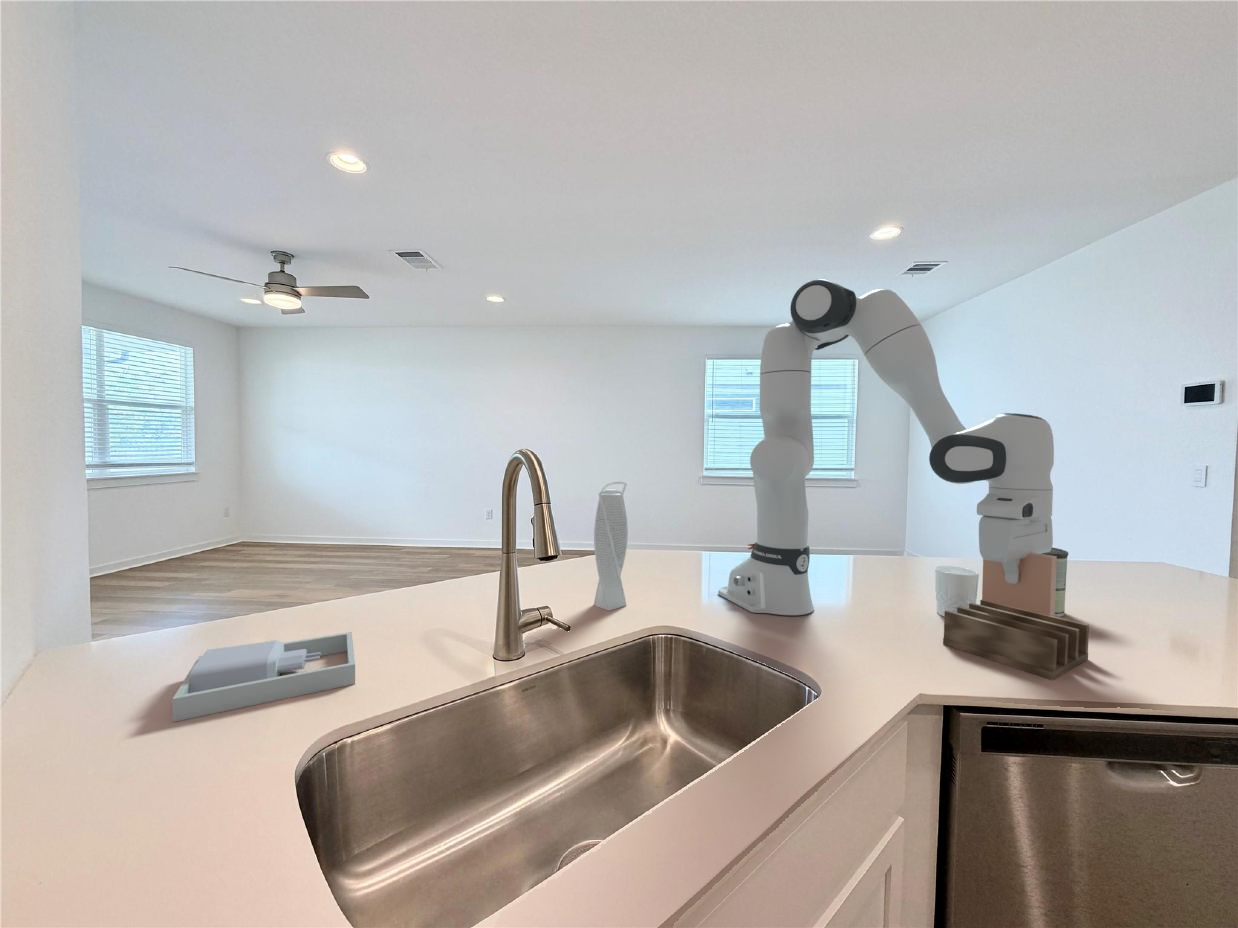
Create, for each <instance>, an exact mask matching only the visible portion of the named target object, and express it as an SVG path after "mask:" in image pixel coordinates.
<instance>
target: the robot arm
mask: <svg viewBox="0 0 1238 928" xmlns="http://www.w3.org/2000/svg"><path fill="white" fill-rule="evenodd" d="M789 309H790V316H791V318H792V321H790V322H788V323H785V324H784V323H783V324H779V325H777V326H775V327H773V328H771V329H770V330H769V331H768V332H766V334H765V337H764V340H763V345H762V349H761V350H762V351H761V356H760V366H759V413H760V416H761V422H762V426H763V427H762V428H763V435H764V438H763V439H762V440H761V441H760V442H758V443H757V444H756V445H755V447H754V448H753V449H752V451H751V453H750V456H749V464H750V465H749V466H750V468H751V471H752V475H753V476H752V477H753V478H752V479H753V485H754V486H753V487H754V488H753V489H754V493H755V500H756V513H757V514H756V515H757V516H756V521H757V522H756V525H757V526H756V542H754V543H751V544H747V546H748V547H747V550H751V553H750V557H749V558H746V560H744V561H743V562H741V563H739V564H738V565H736V566H735V567H734V568H733V569H731V570H730V573H729V576H728V582H727V583H728V585H726V586H723V587H720V588H719V589H718V592H717V594H718V595H719V596H721V597H723V598H724V599H727V600H729V601H730V602H732V603H734V604H736V605H737V606H739V607H741V608H744V609H745V610H746V611H748V612H751V613H754V614H755V613H756V614H773V615H780V616H802V615H807V614H810V613H813V611H814V610H815V607H814V604H813V600H812V595H811V589H810V588H811V587H810V581H809V572H808V571H809V565H810V546H809V545H808V543H809V540H808V539H809V538H808V537H809V508H808V502H807V493H806V492H807V491H806V477H808V475H810V473H811V472H812V470H813V467H814V464H815V450H814V445H815V444H814V433H813V432H814V431H813V419H812V404H811V403H812V360H813V359H812V358H813V353H814V351H819V350H822V349H825V348H826V347H830V346H831V345H835V344H838V343H841V342H842V341H844V340H846V339H847V338H848V337H851V338H853V340H855V342H856V343H857V345H858V346H859V348H860V349H861V352H862V354H863V356H864V357H865V359H866V361H867V362H868V364H869V365H870V367H871V368H872V370H873V371H874V372H875V373H876V374H877V376H878V378H880V379H881V381H883V382H884V384H885V385H886V386H888V387H889V388H890V389H892V390H893V391H894V392H895V393H896V394H898V395H899V396H900V397H901V398H902V399H903V400H904V401H905V402H906V403H907V404H908V406H909V407H910V408H911V410H912V412H913V414H914V415H915V417H916V419H917V420H918V422H919V424H920V425H921V427H922V429H923V430H924V432H925V434H926V435H927V437H928V440H929V443H930V447H931V450H930V452H929V456H928V461H929V464H930V465H929V466H930V468H931V470H932V471H933V473H934V474H935V475H936V476H937V477H939V478H940V479H942V480H944V481H945V482H948V483H950V484H957V485H967V484H971V483H975V482H979V481H980V482H981V481H986V482H988V493H987V494H986V495H985V496H984V497H983V499H982V500H981V501H979V502H978V503H977V505H976V515H978V516H981V517H980V518H979V522H978V549H979V553H980V556H981V558H982V560H983V559H984V560H989V561H994V562H1001V563H1002V565H1003V568H1004V571H1005V581H1006V582H1008V583H1013V584H1016V583H1019V582H1020V581H1021V579H1020V578H1021V573H1019V570H1018V565H1019V562H1020V559H1022V558H1026V557H1027V556H1028V554H1030V553H1038V554H1042V553H1046V552H1050V551H1051V548H1053V543H1054V542H1053V541H1054V539H1053V537H1054V536H1053V535H1054V533H1053V520H1052V516H1053V501H1054V500H1053V499H1054V498H1053V493H1054V487H1053V483H1052V480H1051V473H1052V469H1053V466H1054V463H1055V462H1054V461H1055V460H1054V459H1055V447H1054V446H1055V444H1054V435H1053V429H1052V426H1051V425H1050V422H1048V421H1047V420H1045V419H1044V418H1043V417H1040V416H1036V415H1032V414H1025V413H1024V414H1023V413H1016V412H1015V413H1013V412H1012V413H1010V412H1004V413H998V414H996V415H995V416H994V417H992V418H990V419H988V420H987V421H983V422H982V423H980V424H978V425H975V426H972V427H969V428H968V429H967V428H966V427H965V426H964V424H962V422H961V420H960V419H959V418H958V417H959V416H957V414H956V412H955V410H954V409H953V407H952V405H951V403H950V402H949V400H948V398H947V396H946V395H945V393H944V391H943V388H942V386H941V383H940V378H939V374H938V373H939V372H938V366H937V360H936V355H935V353H934V349H933V347H932V346H933V345H932V344H931V341H930V339H929V336H928V335H927V333H926V330H925V329H924V327H923V325H922V324H921V323H920V321H919V319H918V318H917V316H916V315H915V314H914V312H913V311H912V310H911V308H910V307H909V306H908V305H907V303H906V302H905V301H904V300H903V299H902V297H900V296H899V295H898V293H896V292H895V291H893V290H891V289H888V288H887V289H886V288H879V289H875V290H872V291H869V292H867V293H865V294H863V295H862V296H859V297H857V295H856V293H855V291H854V290H851V289H849V288H847V287H844V286H843V285H840V284H838V283H836V282H834V281H830V280H826V279H814V280H810V281H808V282H806V283H804V284H802V285H801V286H800V287H799V288H798V289H797V290H796V292H795V293H794V294H793V297H792V299H791V303H790V308H789Z"/></svg>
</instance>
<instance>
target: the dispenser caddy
mask: <svg viewBox="0 0 1238 928" xmlns="http://www.w3.org/2000/svg"><path fill="white" fill-rule="evenodd" d="M352 632H353V631H350V632H349V631H347V632H343V633H336V634H330V635H324V636H317V637H310V638H305V639H298V640H297V639H296V640H293V641H286V642H283V643H284V652H288V651H294V650H301V649H306V650H307V654H311V653H318V652H321V655H316V656H310V657H306V658H311V657H317V656H320V657H321V656H328V655H334V654H338V653H345V652H346V659H347V663H343V664H338V665H334V666H333V665H331V666H328V667H322V668H318V669H313V670H311V669H310V670H307V671H305V670H304V671H302V672H301V671H300V672H295V673H289V674H284V675H280V676H279V677H274V678H268V679H263V680H258V681H252V682H247V683H242V684H237V685H231V686H226V687H221V688H215V689H210V690H205V691H200V692H194V693H190V679H189V678H190V673H191V670H192V668H193V667H194V666H195V664H196V663H197V662H198V661H199V659H200V658H201V657H202V656H203V655H199V656H198V658H197V659H196V660H195V662H194V663H193V665H192V667H191V669H190V670H189V672H188V673H187V675H186V676H185V679H184V680H183V682H182V683H181V684H180V686H179V688H178V690H177V691H176V693H175V694H174V696H173V698H172V700H171V701H172V722H173V723H175V722H179V721H185V720H190V719H193V718H194V719H195V718H198V717H203V716H209V715H214V714H218V713H222V712H228V711H231V710H236V709H241V708H246V707H251V706H255V705H260V704H266V703H270V702H271V703H272V702H275V701H281V700H285V699H290V698H294V697H299V696H304V695H309V694H313V693H318V692H324V691H328V690H333V689H337V688H342V687H348V686H352V685H356V660H355V652H354V651H355V650H354V649H355V648H354V642H353V641H354V640H353V633H352Z"/></svg>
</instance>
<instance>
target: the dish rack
mask: <svg viewBox="0 0 1238 928" xmlns="http://www.w3.org/2000/svg"><path fill="white" fill-rule="evenodd" d="M979 603H980V604H978V603H976V604H975V603H969V609H968V608H964V607H960V606H959V607H957V613H956V612H952V611H949V610H947V611H945V617H944V616H943V617H944V624H943V638H942V644H943V645H945V646H946V647H947V646H948V647H951V648H955V649H956V650H959V651H960V650H961V651H962V652H966V653H970V654H972V655H975V656H979V657H981V658H983V659H987V660H990V661H994V662H997V663H1000V664H1001V665H1002V664H1003V665H1005V666H1008V667H1012V668H1015V669H1018V670H1021V671H1024V672H1026V673H1030V674H1034V675H1036V676H1040V677H1043V678H1045V679H1049V680H1052V681H1053V680H1055V679H1056V678H1059V677H1060V676H1062V675H1064V674H1065V673H1067V672H1069V671H1071V670H1072V669H1074V668H1076V667H1077V666H1079V665H1081V664H1082V663H1085V662H1086V661H1088V659H1089V639H1090V638H1089V634H1090V624H1089V623H1085V622H1079V621H1075V620H1072V619H1066V618H1063V617H1055V616H1047V615H1043V614H1039V613H1034V612H1030V611H1026V610H1022V609H1017V608H1013V607H1009V606H1004V605H1000V604H996V603H992V602H987V601H983V600H982V599H980V601H979Z"/></svg>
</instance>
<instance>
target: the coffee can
mask: <svg viewBox="0 0 1238 928" xmlns="http://www.w3.org/2000/svg"><path fill="white" fill-rule="evenodd" d="M1042 554H1045V555H1052V556H1057V560H1056V592H1055V614H1054V615H1052V616H1055V617H1059V618H1062V617H1064V616H1065V615H1066V613H1065V610H1066V588H1067V573H1068V572H1067V571H1068V570H1067V569H1068V556H1069V551H1067V550H1064V549H1062V548H1061V549H1060V548H1058V547H1052V548H1051V551H1050V552H1046V553H1042Z"/></svg>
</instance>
